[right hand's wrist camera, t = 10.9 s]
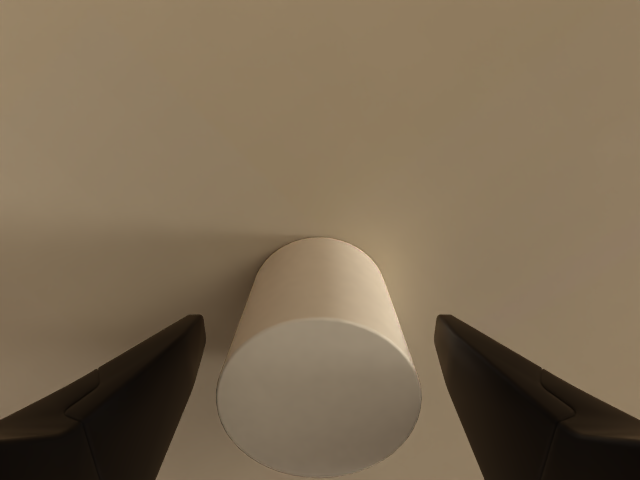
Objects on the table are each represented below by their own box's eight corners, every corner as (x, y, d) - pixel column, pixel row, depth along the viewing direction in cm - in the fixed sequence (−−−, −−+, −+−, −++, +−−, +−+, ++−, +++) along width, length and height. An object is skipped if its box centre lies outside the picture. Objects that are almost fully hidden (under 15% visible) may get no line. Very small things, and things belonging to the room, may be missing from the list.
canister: (359, 366, 14) (378, 495, 10) (238, 335, 14) (197, 455, 9) (406, 259, 12) (456, 350, 8) (271, 219, 12) (240, 292, 7)
